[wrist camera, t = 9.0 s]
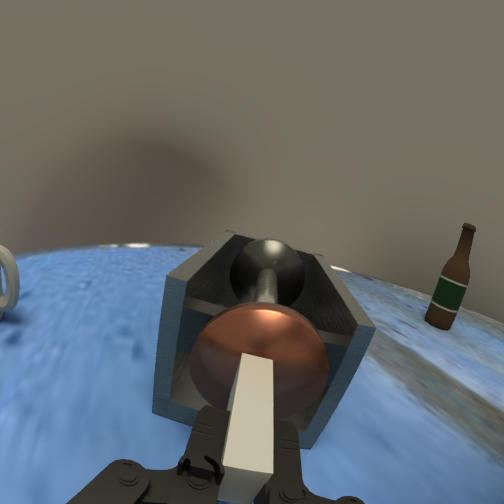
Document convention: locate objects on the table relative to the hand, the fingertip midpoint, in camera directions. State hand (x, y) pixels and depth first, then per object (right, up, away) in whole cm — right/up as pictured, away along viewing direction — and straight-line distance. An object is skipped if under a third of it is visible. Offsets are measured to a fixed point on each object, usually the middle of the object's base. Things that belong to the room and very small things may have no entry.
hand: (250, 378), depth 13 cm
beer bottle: (+43, -11, +40) cm, 60 cm away
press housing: (-1, -5, +14) cm, 15 cm away
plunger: (0, -2, +10) cm, 10 cm away
